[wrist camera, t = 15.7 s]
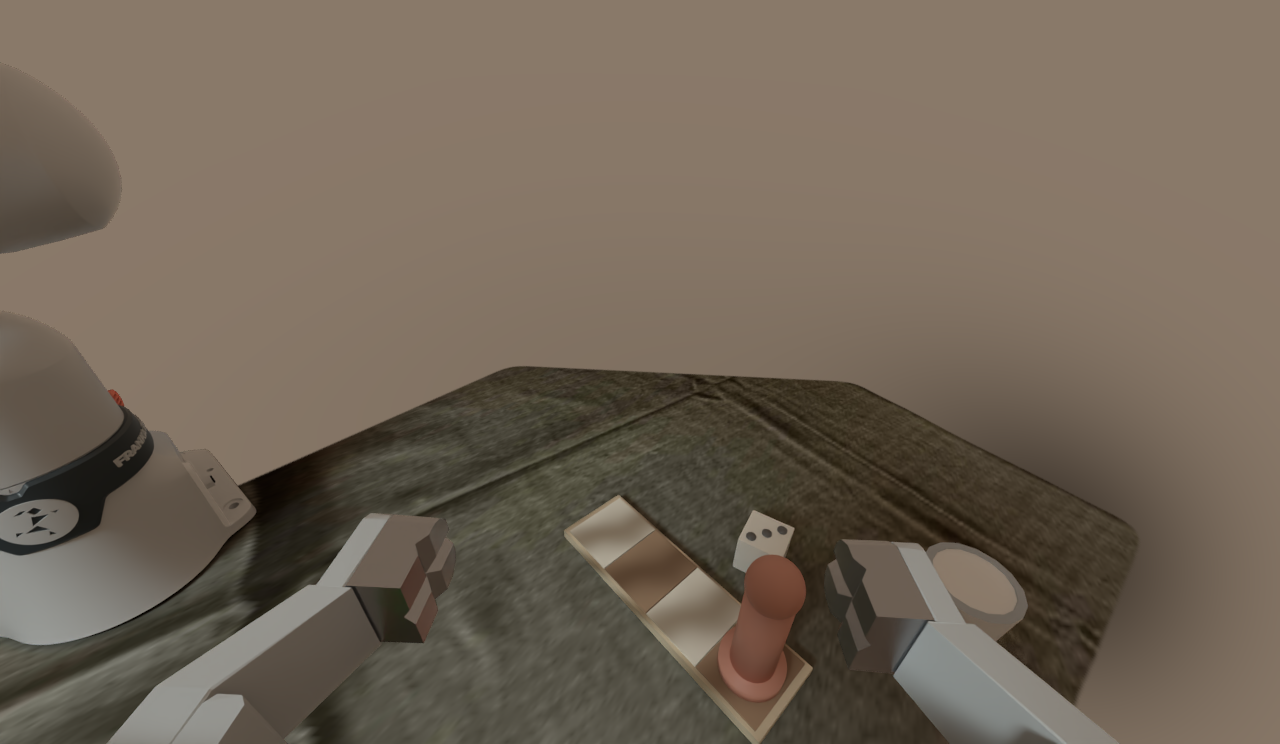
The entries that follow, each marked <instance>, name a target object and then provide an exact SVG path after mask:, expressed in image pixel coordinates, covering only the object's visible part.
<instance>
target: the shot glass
mask: <svg viewBox="0 0 1280 744" xmlns="http://www.w3.org/2000/svg"><path fill="white" fill-rule="evenodd" d="M926 554H927V556H928V558H929V559H930V561H931V563H932V565H933V566H934V568H935V570H936V572H937V573H938V575H939V577H940V579H941V580H942V582H943V584H944V586H945V587H946V589H947V591H948V592H949V594H950V596H951V598H952V599H953V601H954V603H955V605H956V606H957V608H958V610H959V612H960V613H961V615H962V617H963V619H964V620H965V622H966V623H968V624H975V625H976V626H977V627H979V628H980V629H981V630H982V631H983V632H985V633H986V634H987V635H988V636H990V637H991V638H992V639H993V640H994V641H997V640H998V639H999V638H1000V637H1002V636H1003V635H1004V634H1005V633H1006V632H1008V631H1009V630H1010V629H1011V628H1012V627H1014V626H1015V625H1016V624H1017V623H1018V622H1020V621H1021V620H1022V619H1023V618H1024V615H1025V613H1026V610H1027V608H1028V604H1027V600H1026V597H1025V593H1024V590H1023V589H1022V587H1021V586H1020V585H1019V583H1018V582H1017V580H1016V579H1015V578H1014V576H1013V575H1012V574H1011V573H1010V572H1009V571H1008V570H1007V569H1005V568H1004V567H1003V566H1002V565H1001V564H1000V563H999V562H997V561H996V560H995V559H993V558H991V557H990V556H988V555H986V554H984V553H983V552H981V551H979V550H977V549H975V548H972V547H969V546H965V545H962V544H959V543H948V542H941V543H938V544H935V545H933V546H930V547H929V548H928V550H927V551H926Z"/></svg>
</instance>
